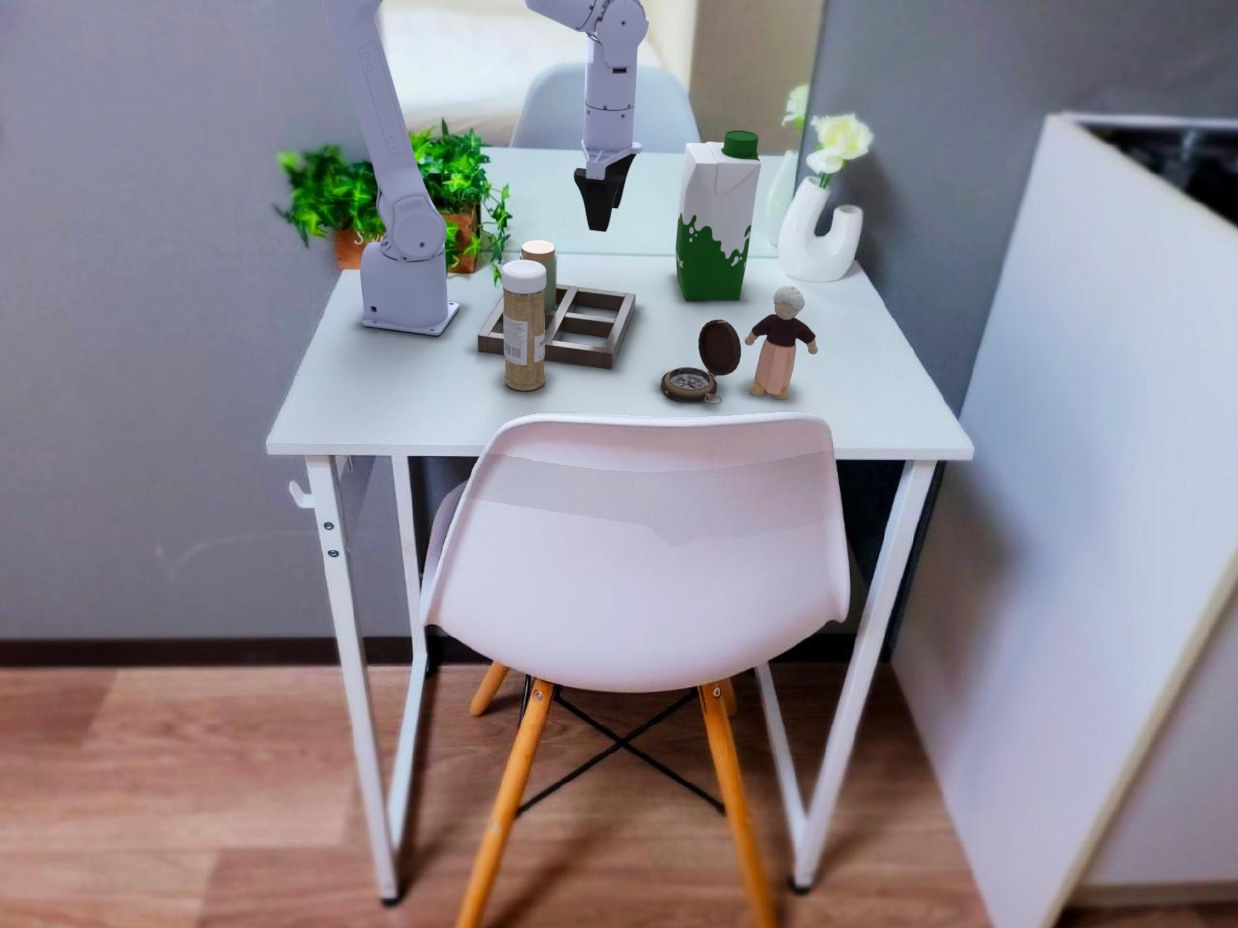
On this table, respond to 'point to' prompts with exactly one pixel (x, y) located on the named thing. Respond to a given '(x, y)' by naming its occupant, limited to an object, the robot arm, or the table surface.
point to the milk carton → (716, 216)
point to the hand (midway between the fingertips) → (604, 218)
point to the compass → (706, 364)
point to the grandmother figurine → (780, 343)
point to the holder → (572, 326)
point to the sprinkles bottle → (524, 324)
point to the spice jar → (548, 258)
